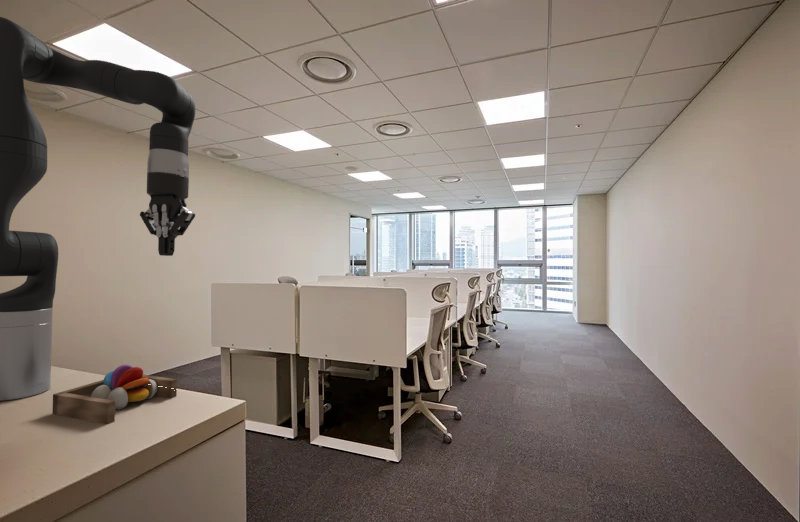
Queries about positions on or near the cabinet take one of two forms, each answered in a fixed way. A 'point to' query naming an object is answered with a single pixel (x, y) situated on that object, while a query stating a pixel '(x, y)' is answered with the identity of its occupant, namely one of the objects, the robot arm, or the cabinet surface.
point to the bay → (100, 401)
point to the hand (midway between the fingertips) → (166, 255)
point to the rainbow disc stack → (125, 386)
